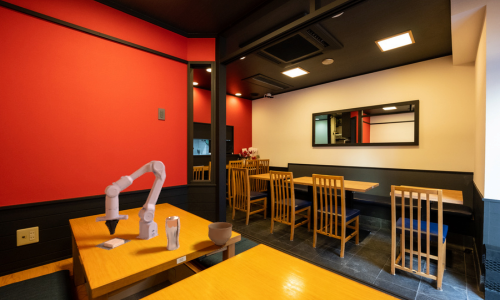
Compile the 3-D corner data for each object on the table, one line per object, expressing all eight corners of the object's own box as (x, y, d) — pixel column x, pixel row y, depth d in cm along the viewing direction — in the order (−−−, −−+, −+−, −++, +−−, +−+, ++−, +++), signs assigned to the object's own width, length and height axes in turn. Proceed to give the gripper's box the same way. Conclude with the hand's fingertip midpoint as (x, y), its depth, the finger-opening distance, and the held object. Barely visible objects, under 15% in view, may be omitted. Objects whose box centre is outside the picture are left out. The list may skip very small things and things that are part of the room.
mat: (131, 241, 115) (131, 240, 115) (108, 251, 104) (108, 250, 104) (116, 238, 120) (116, 237, 120) (94, 247, 109) (94, 246, 109)
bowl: (237, 241, 112) (237, 222, 112) (222, 251, 101) (221, 230, 102) (219, 236, 119) (218, 219, 119) (203, 245, 108) (202, 226, 108)
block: (115, 241, 114) (124, 243, 111) (104, 246, 108) (112, 248, 106) (115, 238, 114) (124, 240, 111) (104, 242, 108) (112, 244, 106)
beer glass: (164, 251, 102) (164, 220, 102) (166, 245, 109) (166, 216, 109) (179, 249, 104) (179, 219, 104) (180, 243, 111) (180, 215, 111)
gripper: (130, 205, 116) (130, 230, 116) (100, 207, 113) (100, 232, 113) (124, 208, 109) (125, 234, 109) (93, 210, 106) (93, 237, 106)
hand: (112, 234), depth 110 cm, fingers closed
